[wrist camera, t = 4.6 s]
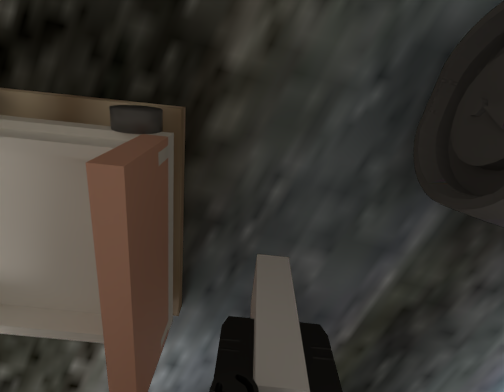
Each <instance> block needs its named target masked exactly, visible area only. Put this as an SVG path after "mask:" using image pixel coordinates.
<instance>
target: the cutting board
mask: <svg viewBox="0 0 504 392" xmlns="http://www.w3.org/2000/svg"><path fill="white" fill-rule="evenodd" d="M113 105H141V106H150V107H156V108H160V109H162V110H163V131H162V132H170V133H174V190H173V315H174V316H179V313H180V310H181V307H182V270H183V217H184V164H185V112H186V107H180V106H170V105H161V104H151V103H142V102H132V101H123V100H113V99H104V98H94V97H85V96H75V95H66V94H56V93H47V92H37V91H28V90H18V89H9V88H0V115H7V116H16V117H26V118H36V119H45V120H55V121H64V122H74V123H84V124H93V125H103V126H111V124H110V109H109V107H110V106H113Z"/></svg>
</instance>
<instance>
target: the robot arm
mask: <svg viewBox="0 0 504 392" xmlns="http://www.w3.org/2000/svg"><path fill="white" fill-rule="evenodd" d="M209 392H342V389H341V385H340V381H339V377H338V373H337V369H336V365H335V362H334V358H333V354H332V350H331V346H330V342H329V339H328V335H327V334H326V333H325V331H324V330H323V328H322V327H321V326H320V324H310V323H300V322H299V319H298V312H297V306H296V300H295V293H294V287H293V281H292V274H291V268H290V262H289V257H281V256H272V255H262V254H257V259H256V267H255V275H254V282H253V290H252V297H251V316H250V318H242V317H233V316H228V318H227V319H226V321H225V322H224V323H223V325H222V328H221V334H220V341H219V348H218V354H217V361H216V367H215V374H214V380H213V382H212V385H211V387H210V391H209Z"/></svg>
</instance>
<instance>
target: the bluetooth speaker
mask: <svg viewBox="0 0 504 392" xmlns="http://www.w3.org/2000/svg"><path fill="white" fill-rule="evenodd" d="M413 155H414V166H415V172H416V175H417V178H418V181H419V183H420V185H421V187H422V189H423V190H424V192H425V193H426V194H427V195H428V196H429V197H430V198H431V199H432V200H434V201H436V202H438V203H440V204H441V205H444V206H446V207H449V208H451V209H454V210H457V211H459V212H462V213H465V214H467V215H469V216H472V217H475V218H478V219H481V220H483V221H486V222H489V223H492V224H495V225H498V226H501V227H504V1H503V2H501V3H500V4H499V5H497V6H496V7H495V8H494V9H492V10H491V11H490V12H489V13H488V14H487V15H485V16H484V17H483V18H482V19H481V20H480V21H479V22H478V23H477V24H476V25H475V26H474V27H473V28H472V29H471V30H470V31H469V32H468V33H467V34H466V36H465V37H464V38H463V39H462V40H461V41H460V43H459V44H458V45H457V46H456V48H455V49H454V50H453V52H452V53H451V55H450V56H449V58H448V59H447V61H446V63H445V64H444V66H443V68H442V71H441V73H440V75H439V78H438V80H437V83H436V85H435V87H434V90H433V92H432V94H431V97H430V99H429V101H428V104H427V106H426V108H425V111H424V113H423V115H422V117H421V120H420V122H419V124H418V127H417V130H416V135H415V140H414V154H413Z"/></svg>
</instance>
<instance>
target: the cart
mask: <svg viewBox="0 0 504 392" xmlns="http://www.w3.org/2000/svg"><path fill="white" fill-rule="evenodd" d="M109 109H110V124H111V126H103V125H93V124H84V123H74V122H64V121H55V120H45V119H36V118H26V117H16V116H7V115H0V334H11V335H22V336H32V337H43V338H54V339H64V340H75V341H85V342H96V343H104V346H105V355H106V365H107V374H108V384H109V392H148V389H149V387H150V384H151V381H152V378H153V375H154V372H155V370H156V367H157V364H158V361H159V358H160V355H161V353H162V350H163V347H164V344H165V341H166V339H167V336H168V333H169V330H170V327H171V324H172V322H173V190H174V133H170V132H162V131H163V110H162V109H160V108H156V107H150V106H141V105H113V106H110V107H109Z"/></svg>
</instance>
